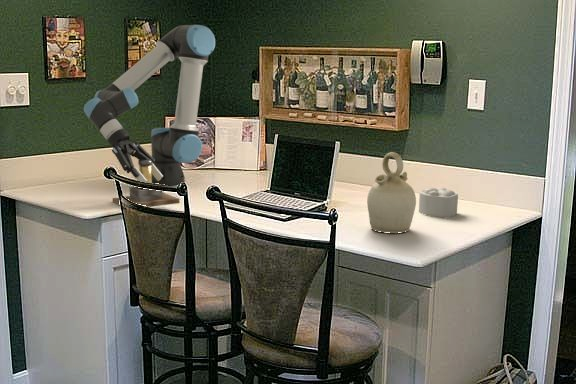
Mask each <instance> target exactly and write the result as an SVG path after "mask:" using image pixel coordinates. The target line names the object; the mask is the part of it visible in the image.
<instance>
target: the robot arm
mask: <svg viewBox="0 0 576 384" xmlns="http://www.w3.org/2000/svg"><path fill="white" fill-rule="evenodd" d="M215 47H216V37H215V35H214V32H212V30H211V29H210V28H209V27H207V26H205V25H202V24H201V25H200V24H184V25H183V24H182V25H178V26H176V27H174V28H173V29H171V30H170V31H169V32H168V33H167V34H165V35H164V36H163V37H162V38H160V39H159V40H158V41H157V42H156V46H155V47H154V48H152V49H151V50H150V51H149V52H148V53H147V54H146V55H144V56H143V57H141V59H139V61H137V62H136V63H135V64H133V66H131V67H130V68H129V69H127V70H126V71H125V72H124V73H123V74H121V75H120V76H119V77H118V78H117V79H115V80H114V81H113V82H112V83H111V84H110V85H108V86H107V87H106V88H104V89H103V88H102V89H100V90H98V91H96V92H95V95H94V98H92V99H90V100H88V101H87V102H86V103H85V104H84V106H83V112H84V114H85V115H86V116H87V118H88V120H89V121H91V123H92V124H93V125H94V127H96V129H97V130H98V131H99V132H100V133H101V134H102V136H103V137H104V138H105V140H107V143H108V144H109V145H110V146H111V148H113V149H111V153H113V154H114V156H115V157H116V159H117V160H118V162H119V165H120V166H121V167H122V169H123V171H124V172H126V173H127V174H129V173H131V175H132V176H133V177H134V178H135V179H136V181H140V182H145V183H146V182H147V180H146V178H145V177H144V176H143V175H142V173H141V172H140V171H139V168H138V167H137V166H135V165H134V162H133V159H132V157H134V158H136V159H137V160H143V159H149V160H152V183H159V184H165V185H164V186H177V185H176V184H178V185H180V184H179V183H181V182H184V183H185V182H186V181H185V179H186V176H185V175H184V171H183V168H182V165H181V163H182V164H190V163H193V162H195V161H196V160H197V159H198V158H199V157H200V156H201V154H202V151H203V143H202V142H203V141H201V138H200V137H199V135H200V129H199V128H198V127H197V120H198V112H199V105H200V104H199V103H200V94H201V86H202V80H203V69H204V66H205V65H206V64H207V63H208V61H209V55H211V54H212V53H213V52H214V50H215ZM177 58H178V59H179V60H180V62H181V64H180V65H181V66H180V73H179V82H178V89H177V98H176V106H175V114H174V116H175V117H174V122H173V124H171V125H170V126H169V127H157V128H153V129H152V130H151V133H150V134H151V136H150V141H151V154H150V153H148V151H147V150H146V149H144V148H143V147H142V146H141V144H140V143H139V141H136V142H135V143H133V142H132V141H131V140H130V136H131V135H130V134H129V133H128V131H126V130H125V129H124V127H123V126H122V124H121V123H120V122H119V121H118V119H117V117H119V116H121V115H123V114H125V113H126V112H128V111H130V110H132V109H134V107H136V106H138V105H139V97H138V95H137V92H135V90H136V89H138V88H139V87H140V86H141V85H142V84H144V83H145V82H146V81H147V80H148V79H149V78H150V77H152V76H153V75H154V74H156V73H157V72H158V71H159V70H160V69H161V68H163V67H164V66H165V65H166V64H167V63H168V62H174V61H175V60H176V59H177Z"/></svg>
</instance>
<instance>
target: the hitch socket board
mask: <svg viewBox="0 0 576 384" xmlns="http://www.w3.org/2000/svg"><path fill="white" fill-rule="evenodd" d="M118 197H119V196H118ZM118 197H112V203H114V204H115V205H118V206H120V205H119V198H118ZM125 197H126V198H127V199H129V200H130V201H132V202H134V203H137V204H141V205H146V206H150V207H157V206H164V205H165V206H166V205H171V204H172V205H173V204H180V202H181V201H180V198H178V197H175V196H173V195H171V194H168V193H165V192H163V190H162V191H156V190H149V189H145V190H141V189H140V188H138V187H134V186H129V195H127V196H125Z"/></svg>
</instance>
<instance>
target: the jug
mask: <svg viewBox="0 0 576 384" xmlns="http://www.w3.org/2000/svg"><path fill="white" fill-rule="evenodd" d="M390 158H392V159H394V160H395V162H396V170H395V171H392V170H391V169H390V166H389V161H390ZM381 162H382V165H381V166H382V169H383V172H384V173H385V174H378V175H377V176H376V177H375V179H374V182H375V183H374V184H373V185H371V187H370V189H369V191H368V194H367V200H366V202H367V211H368V219H369V224H370V228H372V229H373V230H372V229H371V230H372V231H374V230H376V231H381V232H390V233H398V232H405V231H408V230H409V231H410V228H411V225H412V222H413V218H414V214H415V210H416V206H417V200H416V199H417V198H416V194H415V190H414V188H413V187H412V186H411V185H410V184H409V183H408V182H407V180H408V173H407V171H403V170H404V161H403V158H402V156H400V155H399V153H396V152H395V151H394V152H393V151H391V152H388V153H386V154H385V155H384V156H383V159H382V161H381ZM376 231H375V232H376ZM409 231H408V232H409ZM405 233H406V232H405Z"/></svg>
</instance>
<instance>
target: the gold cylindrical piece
mask: <svg viewBox="0 0 576 384" xmlns="http://www.w3.org/2000/svg"><path fill="white" fill-rule="evenodd" d="M137 160H138V159H137ZM137 163H138V164H137V165H138V167H139V168H138V170H139V171H140V172H141V173H142V175H143V176H144V177H145V178H146V180H147V182H146V183H152V160H149V159H143V160H138V161H137ZM140 189H141V190H145V189H143V188H140Z"/></svg>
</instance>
